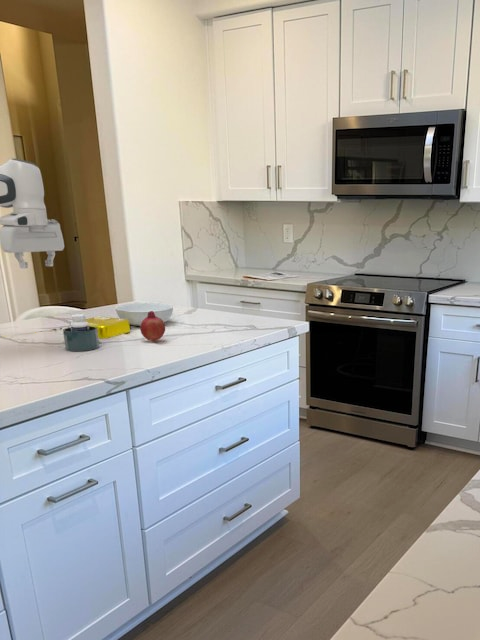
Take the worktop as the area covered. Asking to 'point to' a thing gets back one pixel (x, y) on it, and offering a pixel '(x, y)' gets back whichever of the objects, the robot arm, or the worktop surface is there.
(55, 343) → the worktop surface
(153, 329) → the fruit
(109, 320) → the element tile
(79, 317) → the pill bottle
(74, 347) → the dark teal round container
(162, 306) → the serving bowl
